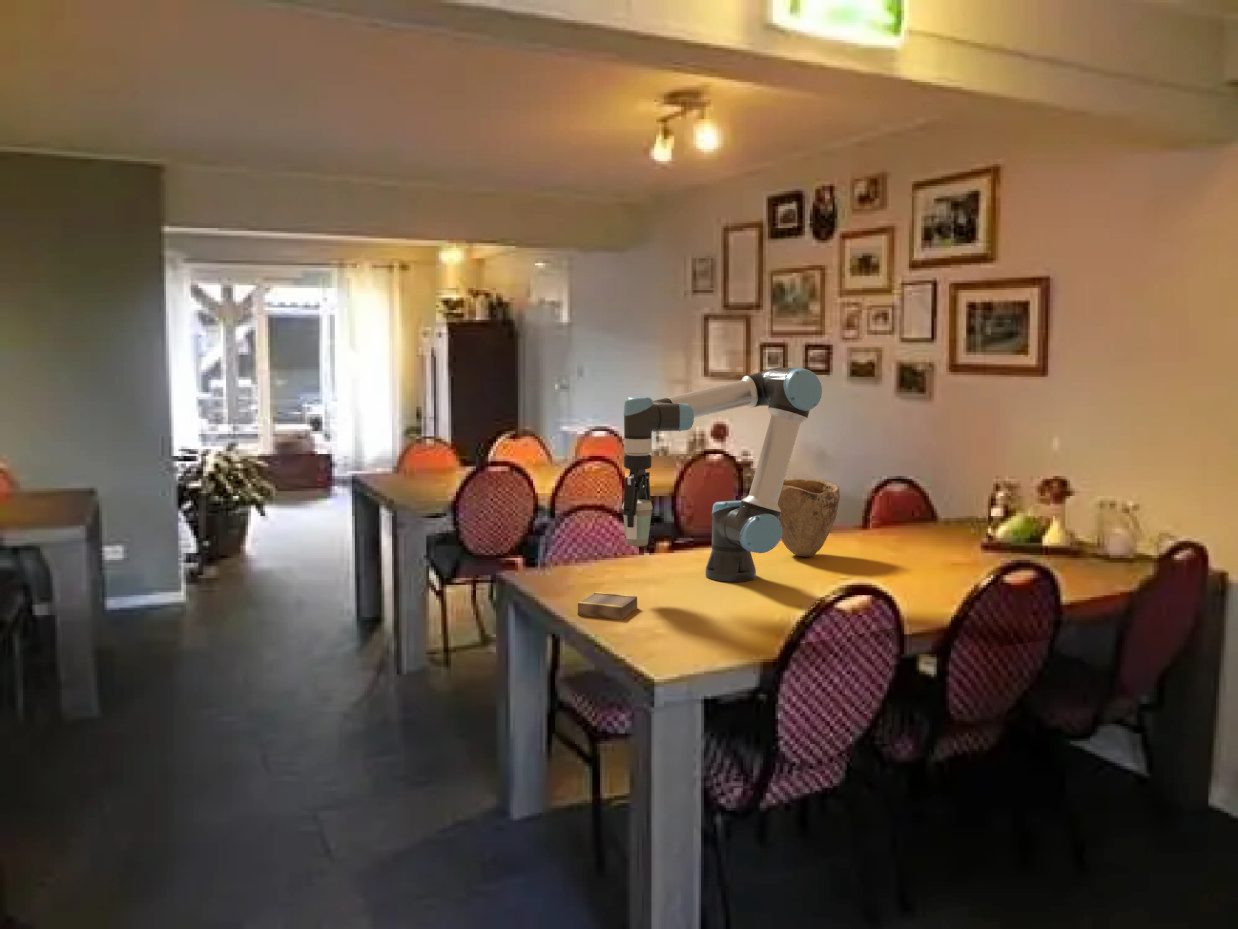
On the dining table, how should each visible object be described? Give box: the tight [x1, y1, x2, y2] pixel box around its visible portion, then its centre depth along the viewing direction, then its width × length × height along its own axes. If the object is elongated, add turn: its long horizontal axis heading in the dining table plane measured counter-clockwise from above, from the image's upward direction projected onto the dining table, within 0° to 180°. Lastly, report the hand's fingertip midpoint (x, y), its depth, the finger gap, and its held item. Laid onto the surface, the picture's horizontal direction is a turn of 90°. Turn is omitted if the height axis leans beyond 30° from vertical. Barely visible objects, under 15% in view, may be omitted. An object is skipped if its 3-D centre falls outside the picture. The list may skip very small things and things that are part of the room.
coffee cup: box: [621, 499, 654, 547], centre depth 275 cm, size 8×8×12 cm
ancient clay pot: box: [778, 478, 841, 558], centre depth 331 cm, size 22×22×25 cm
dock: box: [577, 591, 638, 620], centre depth 262 cm, size 12×12×3 cm
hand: (637, 535), depth 275 cm, fingers closed on coffee cup, 8 cm apart
